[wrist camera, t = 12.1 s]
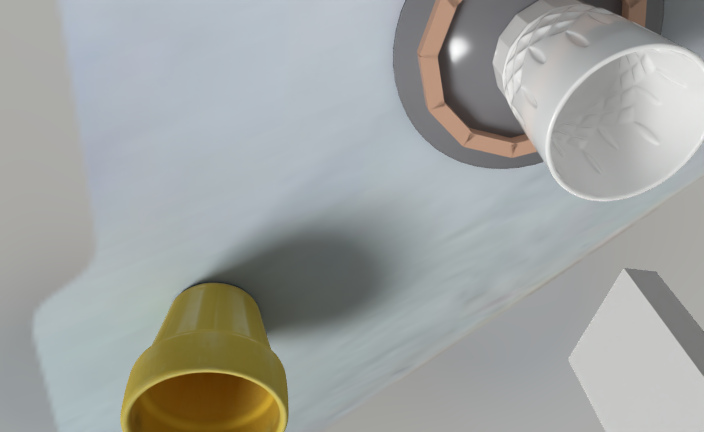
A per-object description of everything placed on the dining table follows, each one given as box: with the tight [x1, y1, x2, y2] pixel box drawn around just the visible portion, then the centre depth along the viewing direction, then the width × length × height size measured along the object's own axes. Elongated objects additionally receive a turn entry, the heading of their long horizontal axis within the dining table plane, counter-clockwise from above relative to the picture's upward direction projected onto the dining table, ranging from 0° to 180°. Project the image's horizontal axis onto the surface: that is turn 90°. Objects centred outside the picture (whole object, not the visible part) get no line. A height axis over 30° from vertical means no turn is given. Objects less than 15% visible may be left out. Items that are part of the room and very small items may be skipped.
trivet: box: [393, 0, 664, 169], centre depth 35 cm, size 16×16×1 cm
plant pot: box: [121, 283, 288, 432], centre depth 41 cm, size 10×10×10 cm
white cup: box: [492, 0, 704, 201], centre depth 31 cm, size 8×8×10 cm
